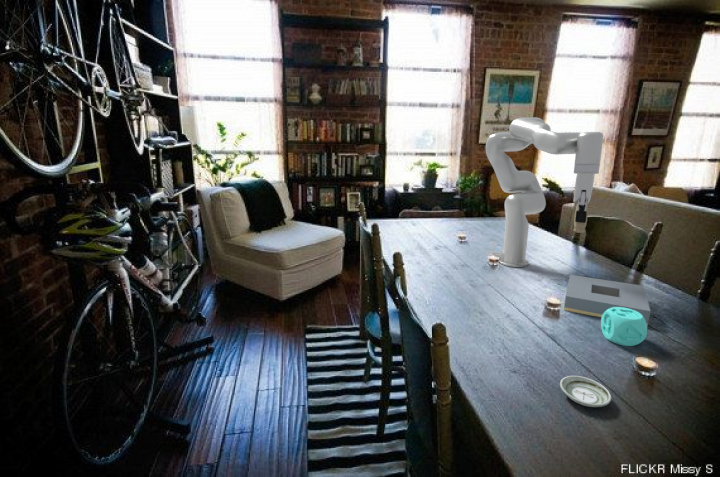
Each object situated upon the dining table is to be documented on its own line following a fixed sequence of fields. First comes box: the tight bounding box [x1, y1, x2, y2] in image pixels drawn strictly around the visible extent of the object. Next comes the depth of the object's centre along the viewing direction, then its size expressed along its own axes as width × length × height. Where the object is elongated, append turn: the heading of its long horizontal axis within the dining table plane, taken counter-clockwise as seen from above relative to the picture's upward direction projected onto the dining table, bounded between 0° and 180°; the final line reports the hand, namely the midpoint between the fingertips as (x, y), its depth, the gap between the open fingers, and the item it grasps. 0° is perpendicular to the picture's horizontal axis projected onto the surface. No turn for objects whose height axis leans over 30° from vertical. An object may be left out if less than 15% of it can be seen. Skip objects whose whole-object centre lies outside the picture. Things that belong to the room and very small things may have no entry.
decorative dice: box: [600, 307, 648, 347], centre depth 103 cm, size 8×8×8 cm
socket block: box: [563, 274, 651, 327], centre depth 124 cm, size 22×22×5 cm
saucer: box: [559, 375, 612, 408], centre depth 81 cm, size 10×10×2 cm
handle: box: [573, 189, 596, 234], centre depth 131 cm, size 5×6×15 cm
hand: (580, 220), depth 132 cm, fingers closed on handle, 3 cm apart
